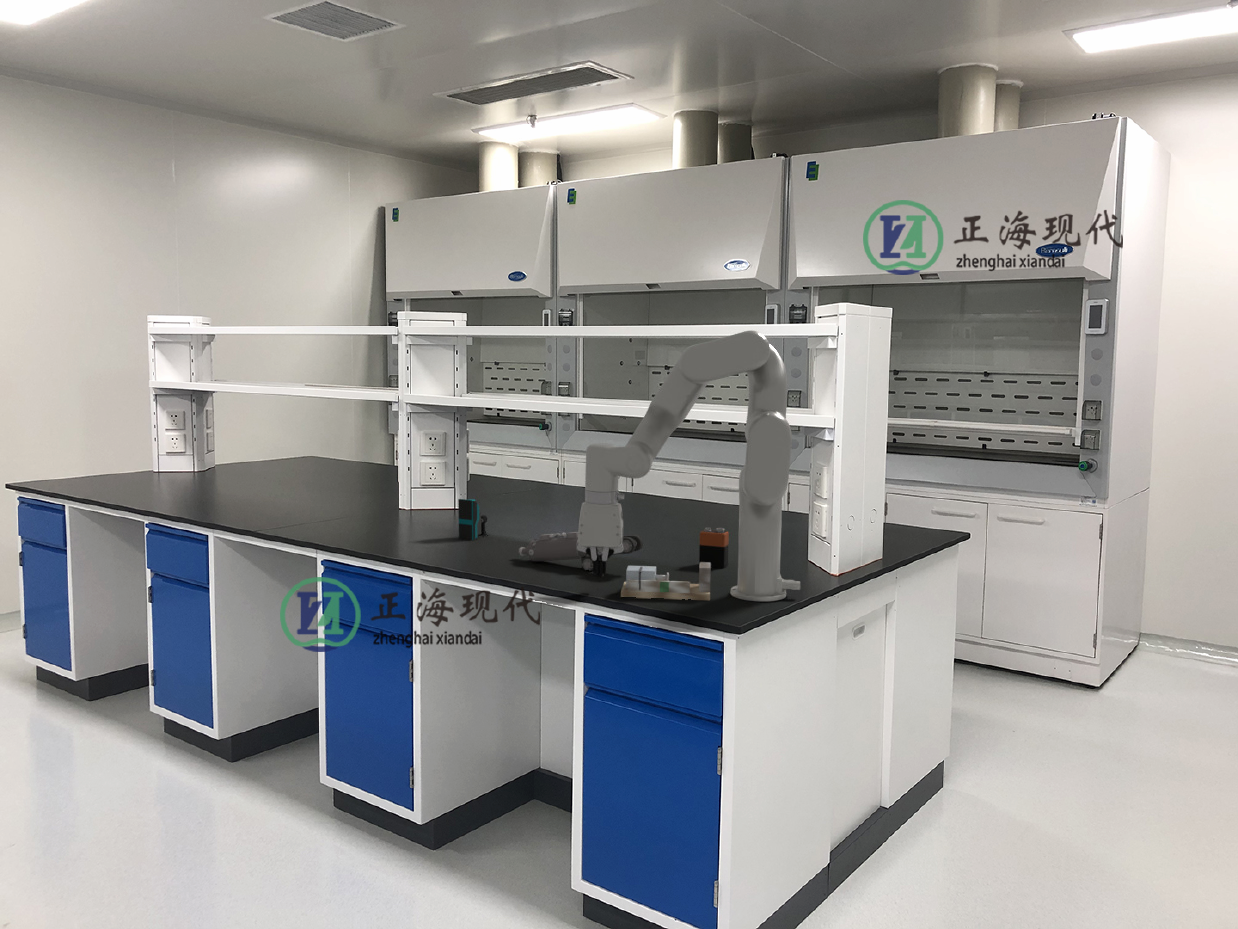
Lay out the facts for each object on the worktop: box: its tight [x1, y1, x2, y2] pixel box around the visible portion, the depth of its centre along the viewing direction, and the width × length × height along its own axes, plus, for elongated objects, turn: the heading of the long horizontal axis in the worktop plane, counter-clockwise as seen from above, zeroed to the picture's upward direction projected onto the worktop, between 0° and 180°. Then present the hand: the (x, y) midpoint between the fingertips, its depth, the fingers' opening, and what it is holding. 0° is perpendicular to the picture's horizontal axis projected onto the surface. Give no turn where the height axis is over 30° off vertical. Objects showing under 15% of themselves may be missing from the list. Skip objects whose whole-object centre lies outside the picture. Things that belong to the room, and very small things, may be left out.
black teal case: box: [457, 498, 488, 541], centre depth 280 cm, size 6×12×10 cm
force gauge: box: [625, 565, 670, 588], centre depth 213 cm, size 10×8×4 cm
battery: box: [698, 527, 730, 569], centre depth 244 cm, size 4×7×10 cm, turn 67°
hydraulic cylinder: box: [517, 531, 644, 572], centre depth 241 cm, size 7×37×10 cm, turn 60°
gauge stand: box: [620, 562, 712, 601], centre depth 214 cm, size 20×9×7 cm, turn 85°
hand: (599, 576), depth 215 cm, fingers closed
